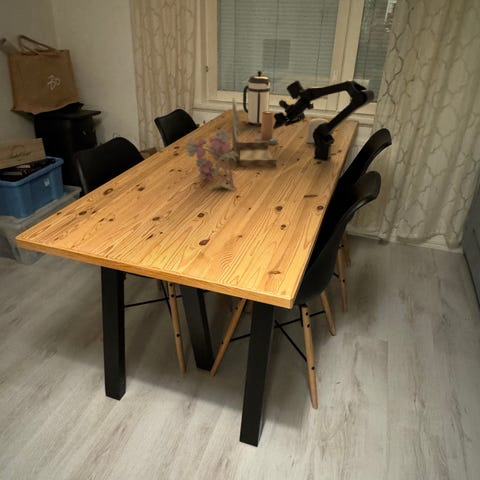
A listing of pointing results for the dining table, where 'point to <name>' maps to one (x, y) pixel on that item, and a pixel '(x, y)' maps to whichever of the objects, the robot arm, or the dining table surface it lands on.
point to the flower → (218, 150)
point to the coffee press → (257, 97)
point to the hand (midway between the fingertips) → (279, 126)
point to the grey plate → (270, 142)
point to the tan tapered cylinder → (267, 125)
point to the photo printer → (313, 125)
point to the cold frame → (250, 148)
